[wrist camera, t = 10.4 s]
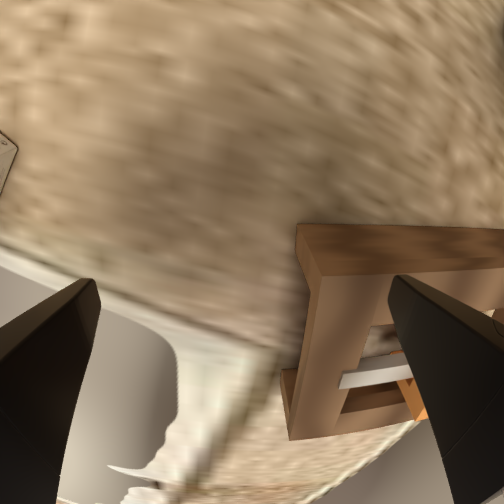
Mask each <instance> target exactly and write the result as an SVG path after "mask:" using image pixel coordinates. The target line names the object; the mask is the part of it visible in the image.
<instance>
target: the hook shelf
mask: <svg viewBox="0 0 504 504" xmlns="http://www.w3.org/2000/svg"><path fill="white" fill-rule="evenodd" d="M295 252H296V255H297V258H298V260H299V263H300V265H301V268H302V271H303V273H304V276H305V279H306V281H307V284H308V287H309V289H310V292H311V294H310V301H309V308H308V314H307V321H306V327H305V333H304V339H303V345H302V351H301V357H300V362H299V368H298V369H284V370H282V371H281V378H280V387H281V393H282V399H283V405H284V411H285V417H286V423H287V430H288V436H289V441H293V440H303V439H312V438H320V437H327V436H334V435H341V434H347V433H353V432H359V431H364V430H369V429H374V428H379V427H384V426H389V425H393V424H397V423H402V422H406V421H410V420H414V418H413V416H412V414H411V412H410V409H409V407H408V405H407V403H406V401H405V398H404V396H403V394H402V392H401V390H400V388H399V386H398V384H397V380H402V379H408V378H413V374H412V372H411V369H410V367H409V364H408V362H407V359H406V357H405V354H404V353H397V354H391V355H384V356H376V357H368V358H361V355H362V352H363V349H364V346H365V343H366V340H367V337H368V334H369V330H370V327H371V326H376V325H386V324H394V322H393V319H392V316H391V313H390V310H389V306H388V302H387V299H388V294H389V290H390V287H391V283H392V280H393V277H394V276H395V275H398V274H407V275H409V276H411V277H413V278H415V279H417V280H420V281H422V282H424V283H426V284H428V285H429V286H431V287H433V288H435V289H437V290H439V291H441V292H443V293H445V294H447V295H449V296H451V297H453V298H455V299H457V300H459V301H461V302H463V303H465V304H467V305H468V306H470V307H472V308H474V309H476V310H478V311H480V312H482V311H488V310H493V309H495V311H494V313H493V315H492V317H491V319H495V320H497V321H498V322H500V323H502V324H504V230H502V229H481V228H458V227H431V226H397V225H349V224H297V234H296V245H295Z"/></svg>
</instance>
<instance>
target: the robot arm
mask: <svg viewBox="0 0 504 504" xmlns="http://www.w3.org/2000/svg"><path fill="white" fill-rule="evenodd" d="M387 302H388V306H389V310H390V313H391V316H392V319H393V322H394V325H395V329H396V332H397V335H398V339H399V342H400V344H401V347H402V350H403V352H404V354H405V357H406V359H407V362H408V364H409V367H410V369H411V372H412V374H413V377H414V380H415V382H416V385H417V387H418V390H419V393H420V395H421V398H422V401H423V404H424V406H425V409H426V412H427V415H428V418H429V420H430V423H431V426H432V429H433V432H434V435H435V438H436V441H437V445H438V448H439V451H440V454H441V457H442V461H443V464H444V468H445V471H446V475H447V478H448V482H449V485H450V489H451V493H452V497H453V501H454V504H486V503H488V502H490V501H491V500H493V499H495V498H496V497H498V496H500V495H501V494H503V497H504V324H502V323H500V322H498V321H497V320H495V319H491V317H489V316H487V315H485V314H484V313H482V312H480V311H478V310H476V309H474V308H472V307H470V306H468V305H467V304H465V303H463V302H461V301H459V300H457V299H455V298H453V297H451V296H449V295H447V294H445V293H443V292H441V291H439V290H437V289H435V288H433V287H431V286H429V285H428V284H426V283H424V282H422V281H420V280H417V279H415V278H413V277H411V276H409V275H407V274H398V275H395V276H394V277H393V280H392V283H391V287H390V290H389V294H388V299H387ZM100 310H101V301H100V297H99V293H98V290H97V286H96V282H95V280H94V279H92V278H81V279H79V280H77V281H76V282H74V283H72V284H71V285H69V286H67V287H65V288H64V289H62V290H60V291H59V292H57V293H56V294H54V295H52V296H50V297H49V298H47V299H45V300H44V301H42V302H41V303H39V304H37V305H36V306H34V307H32V308H31V309H29V310H27V311H26V312H24V313H23V314H21V315H19V316H18V317H16V318H15V319H13V320H12V321H10V322H9V323H7V324H5V325H4V326H2V327H1V328H0V504H56V499H57V492H58V486H59V481H60V476H59V475H60V474H61V469H62V463H63V458H64V454H65V449H66V444H67V439H68V435H69V431H70V427H71V423H72V418H73V415H74V411H75V407H76V403H77V399H78V396H79V392H80V389H81V385H82V382H83V378H84V375H85V371H86V368H87V364H88V362H89V358H90V355H91V351H92V347H93V343H94V338H95V333H96V328H97V324H98V319H99V315H100Z"/></svg>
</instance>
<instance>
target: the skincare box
mask: <svg viewBox="0 0 504 504" xmlns="http://www.w3.org/2000/svg"><path fill="white" fill-rule="evenodd" d="M16 151H17V147H16V146H15V145H14V144H13V143H11V142H10V141H9V140H8V139H7V138H5V137H4V136H3V135H2V134H1V133H0V193H1V190H2V187H3V185H4V182H5V179H6V176H7V174H8V171H9V168H10V166H11V163H12V161H13V159H14V156H15V154H16Z"/></svg>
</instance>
